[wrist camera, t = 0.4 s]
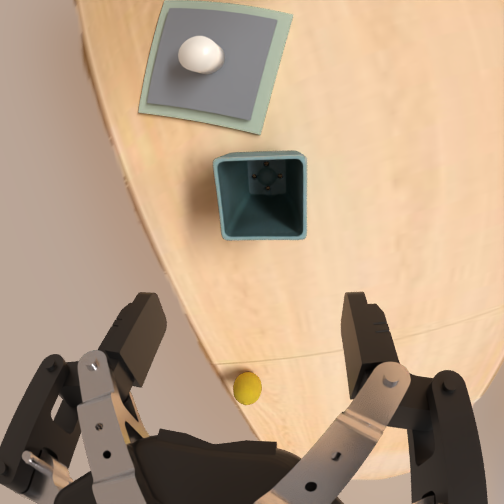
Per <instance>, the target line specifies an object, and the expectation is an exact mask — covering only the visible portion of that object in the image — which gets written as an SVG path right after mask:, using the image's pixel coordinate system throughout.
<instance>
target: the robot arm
mask: <svg viewBox="0 0 504 504" xmlns="http://www.w3.org/2000/svg"><path fill="white" fill-rule="evenodd" d="M166 326H167V321H166V317H165V314H164V312H163V309H162V306H161V303H160V301H159V298H158V295H157V294H156V293H146V292H140V293H138V295H137V296H136V298H135V299H134V301H133V302H132V303H129V304H128V305H127V306H126V307H124V308H123V309H122V310H121V312H120V313H119V315H118V316H117V319H116V320H115V321H114V323H113V326H112V327H111V328H110V330H109V331H108V333H107V335H106V336H105V338H104V340H103V341H102V343H101V345H100V346H99V348H98V350H93V351H90V352H87V353H86V354H84V355H83V356H82V357H81V359H80V360H79V361H76V362H65V360H64V359H63V358H62V357H61V356H60V355H58V354H53V355H50V356H48V357H46V358H45V359H44V360H43V361H42V363H41V365H40V366H39V368H38V370H37V372H36V373H35V375H34V377H33V379H32V381H31V383H30V384H29V386H28V388H27V390H26V392H25V394H24V396H23V398H22V400H21V402H20V404H19V406H18V408H17V410H16V412H15V414H14V416H13V418H12V421H11V423H10V425H9V427H8V429H7V432H6V434H5V437H4V439H3V441H2V444H1V446H0V484H2V485H4V486H6V487H7V488H10V489H11V490H13V491H14V492H15V493H17V494H19V495H21V496H23V497H25V498H27V499H29V500H31V501H34V502H36V503H37V504H344V503H343V502H342V501H341V500H340V499H339V498H338V497H337V496H338V495H339V493H340V492H341V491H342V490H343V489H344V487H345V486H346V485H347V483H348V482H349V481H350V480H351V478H352V477H353V476H354V475H355V473H356V472H357V471H358V469H359V468H360V467H361V465H362V464H363V462H364V461H365V460H366V458H367V457H368V455H369V454H370V452H371V451H372V449H373V448H374V446H375V445H376V443H377V442H378V440H379V439H380V437H381V435H382V434H383V431H384V430H385V428H386V426H390V427H396V428H403V429H407V434H408V443H409V455H410V468H411V491H412V504H488V501H487V488H486V479H485V470H484V463H483V457H482V452H481V446H480V440H479V435H478V431H477V426H476V422H475V418H474V413H473V410H472V406H471V402H470V398H469V395H468V391H467V388H466V385H465V382H464V380H463V378H462V377H461V376H460V375H459V374H458V373H456V372H454V371H451V370H444V371H441V372H439V373H437V374H436V375H435V377H434V378H427V377H420V376H415V375H412V374H410V373H409V372H408V370H407V369H406V368H405V367H404V366H403V365H401V364H400V363H399V360H398V356H397V353H396V350H395V346H394V343H393V340H392V336H391V333H390V332H389V327H388V324H387V321H386V318H385V315H384V312H383V311H382V310H381V309H380V308H379V306H378V305H377V304H367V300H366V297H365V294H364V292H347V293H345V296H344V304H343V311H342V318H341V335H342V342H343V349H344V355H345V363H346V370H347V378H348V386H349V394H350V399H354V400H353V401H352V403H351V404H350V405H349V407H348V408H347V409H346V410H345V411H344V412H342V413H341V414H340V415H339V416H338V417H337V418H336V419H335V420H334V422H333V423H332V424H331V425H330V427H329V428H328V429H327V430H326V432H325V433H324V434H323V435H322V436H321V438H320V439H319V440H318V441H317V442H316V443H315V445H314V446H313V447H312V448H311V449H310V450H309V451H308V452H307V454H306V455H305V456H304V457H303V458H302V459H301V458H300V457H298V456H296V455H294V454H292V453H290V452H288V451H285V450H282V449H278V448H277V442H267V441H247V440H246V441H239V442H231V443H223V444H211V443H208V442H206V441H203V440H201V439H198V438H196V437H193V436H191V435H188V434H186V433H181V432H175V431H170V430H165V429H160V430H159V433H158V435H155V436H149V434H148V433H147V431H146V430H145V428H144V426H143V423H142V421H141V418H140V415H139V413H138V410H137V407H136V404H135V402H134V398H133V396H132V393H131V392H130V390H131V387H132V386H136V387H142V386H143V383H144V380H145V378H146V376H147V373H148V371H149V369H150V366H151V364H152V361H153V359H154V357H155V354H156V352H157V350H158V347H159V345H160V343H161V340H162V338H163V336H164V333H165V331H166ZM58 395H59V396H60V397H61V398H62V399H63V400H62V403H61V405H60V407H59V409H58V412H57V414H56V416H55V418H54V421H53V420H52V418H51V410H52V408H53V406H54V404H55V401H56V399H57V397H58ZM81 433H82V437H83V442H84V446H85V450H86V454H87V458H88V462H89V465H90V469H91V471H90V472H88V473H87V474H85V475H84V476H82V477H80V478H78V479H77V480H75V481H74V482H73V480H72V478H71V477H70V475H69V471H68V468H69V465H70V462H71V459H72V456H73V453H74V450H75V448H76V445H77V442H78V439H79V436H80V434H81Z"/></svg>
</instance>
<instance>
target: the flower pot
mask: <svg viewBox="0 0 504 504" xmlns="http://www.w3.org/2000/svg"><path fill="white" fill-rule="evenodd" d="M265 162H268V163H269V164H268V165H267V166H266V165H265V164H264V163H265ZM213 170H214V177H215V185H216V192H217V200H218V207H219V216H220V225H221V234H222V237H223V239H225V240H231V241H232V240H302V239H305V238H306V236H307V158H306V157H305V156H304V155H303V154H301V153H300V152H298V151H263V152H236V153H229V154H226V155H223V156H221V157H218V158H216V159H214V161H213ZM254 174H255V175H256V178H253V177H252V175H254ZM278 174H282V177H281V178H279V177H278ZM267 186H269V187H270V189H269V190H267V189H266V187H267Z"/></svg>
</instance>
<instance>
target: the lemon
mask: <svg viewBox="0 0 504 504" xmlns="http://www.w3.org/2000/svg"><path fill="white" fill-rule="evenodd" d="M261 390H262V385H261V381H260V379H259V377H258V376H257V375H256V374H254V373H251V372H245V373H242V374H240V375H239V376H238V377H237V378H236V380H235V382H234V386H233V392H234V397H235V398H236V400H237V401H238V402H239V403H241V404H243V405H250V404H253V403H254V402H256V401H257V400H258V398H259V396H260V394H261Z"/></svg>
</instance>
